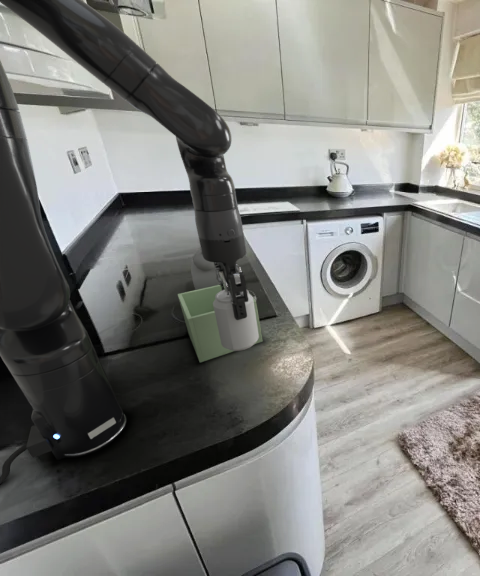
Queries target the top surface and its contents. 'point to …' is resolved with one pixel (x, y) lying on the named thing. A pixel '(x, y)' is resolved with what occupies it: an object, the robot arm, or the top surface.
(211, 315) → the bin
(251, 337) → the can
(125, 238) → the top surface
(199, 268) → the alarm clock
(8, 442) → the top surface
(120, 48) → the robot arm
